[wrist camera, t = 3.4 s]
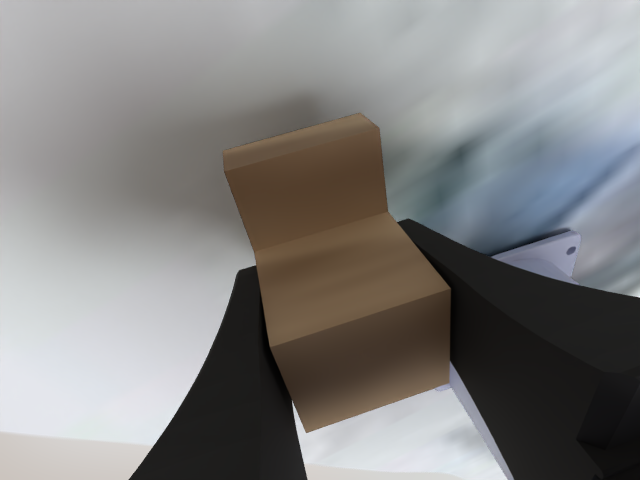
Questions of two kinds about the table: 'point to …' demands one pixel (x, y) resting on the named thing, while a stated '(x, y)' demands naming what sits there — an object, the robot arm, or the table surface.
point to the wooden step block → (339, 272)
